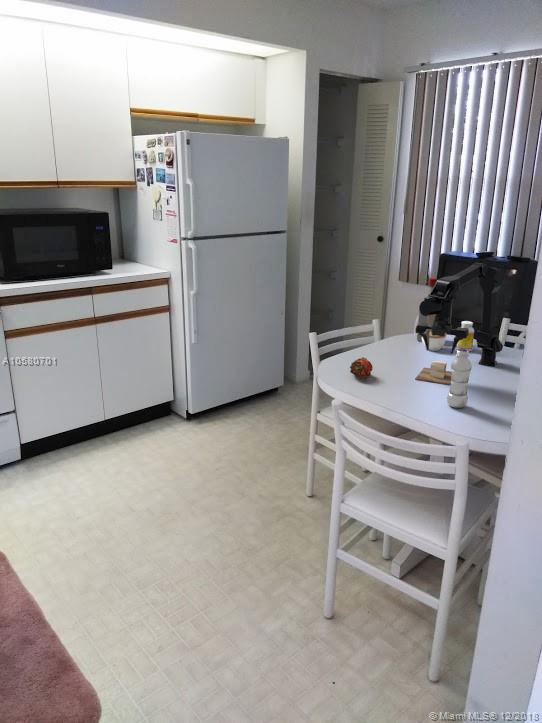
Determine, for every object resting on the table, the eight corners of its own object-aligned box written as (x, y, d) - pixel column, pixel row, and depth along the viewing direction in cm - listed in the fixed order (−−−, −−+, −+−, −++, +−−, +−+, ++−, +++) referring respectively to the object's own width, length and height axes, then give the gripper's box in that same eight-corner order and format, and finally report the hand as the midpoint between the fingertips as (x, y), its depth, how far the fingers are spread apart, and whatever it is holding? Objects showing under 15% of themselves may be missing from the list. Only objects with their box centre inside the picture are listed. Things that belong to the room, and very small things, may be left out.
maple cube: (432, 372, 211) (433, 360, 209) (445, 374, 209) (446, 362, 207) (429, 376, 207) (430, 364, 205) (442, 378, 204) (444, 366, 203)
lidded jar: (416, 346, 246) (417, 327, 243) (437, 344, 248) (438, 325, 245) (428, 353, 236) (429, 333, 233) (449, 351, 238) (451, 331, 235)
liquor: (441, 341, 253) (447, 279, 243) (428, 344, 249) (433, 281, 239) (427, 337, 260) (432, 276, 251) (413, 340, 256) (418, 278, 246)
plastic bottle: (443, 403, 184) (448, 348, 177) (462, 402, 184) (468, 347, 178) (450, 410, 178) (456, 353, 171) (470, 409, 178) (477, 353, 172)
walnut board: (423, 368, 217) (424, 367, 217) (459, 374, 210) (459, 372, 210) (415, 379, 205) (415, 378, 205) (452, 385, 199) (452, 384, 199)
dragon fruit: (358, 386, 204) (359, 379, 215) (377, 374, 202) (376, 368, 213) (346, 368, 203) (347, 362, 215) (364, 356, 201) (365, 351, 213)
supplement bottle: (473, 352, 237) (476, 324, 233) (457, 351, 238) (460, 323, 234) (470, 347, 243) (473, 320, 239) (455, 347, 244) (458, 320, 240)
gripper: (413, 314, 197) (410, 354, 202) (465, 319, 188) (461, 361, 193) (420, 308, 206) (417, 346, 211) (470, 313, 198) (466, 353, 203)
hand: (439, 351), depth 204 cm, fingers open, 9 cm apart
